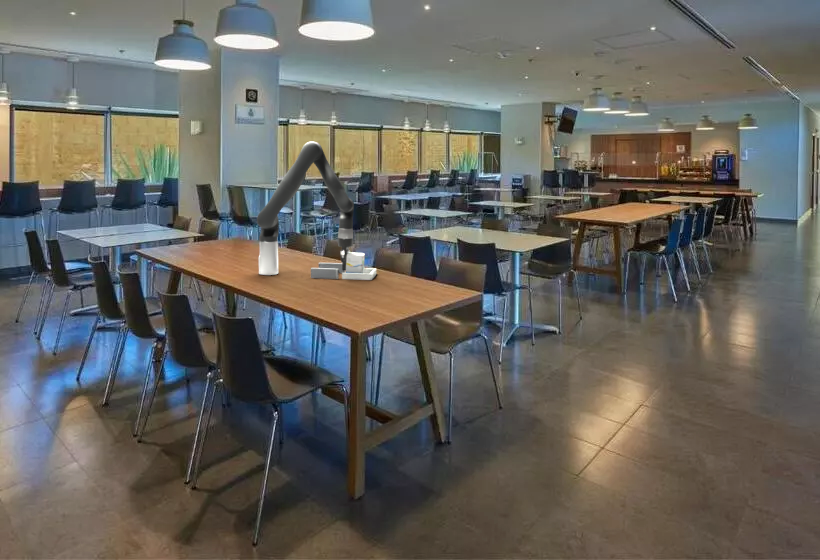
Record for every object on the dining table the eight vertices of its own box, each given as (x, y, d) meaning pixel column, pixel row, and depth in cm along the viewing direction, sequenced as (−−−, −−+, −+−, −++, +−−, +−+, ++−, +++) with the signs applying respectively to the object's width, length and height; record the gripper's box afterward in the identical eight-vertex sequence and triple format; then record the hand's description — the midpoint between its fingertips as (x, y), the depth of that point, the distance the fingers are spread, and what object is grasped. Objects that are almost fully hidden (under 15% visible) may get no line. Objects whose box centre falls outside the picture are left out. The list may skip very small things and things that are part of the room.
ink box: (361, 278, 309) (362, 255, 307) (345, 276, 310) (346, 254, 307) (364, 274, 317) (365, 253, 315) (348, 273, 318) (349, 251, 316)
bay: (310, 277, 307) (310, 268, 306) (319, 271, 324) (319, 262, 323) (337, 279, 305) (337, 269, 304) (344, 272, 323) (344, 263, 322)
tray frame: (342, 278, 306) (342, 273, 305) (348, 273, 322) (348, 267, 321) (371, 280, 305) (371, 274, 304) (376, 274, 320) (376, 268, 320)
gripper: (341, 235, 317) (340, 267, 320) (335, 238, 304) (334, 271, 307) (355, 235, 316) (354, 268, 319) (350, 239, 303) (349, 272, 306)
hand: (344, 270), depth 313 cm, fingers closed
